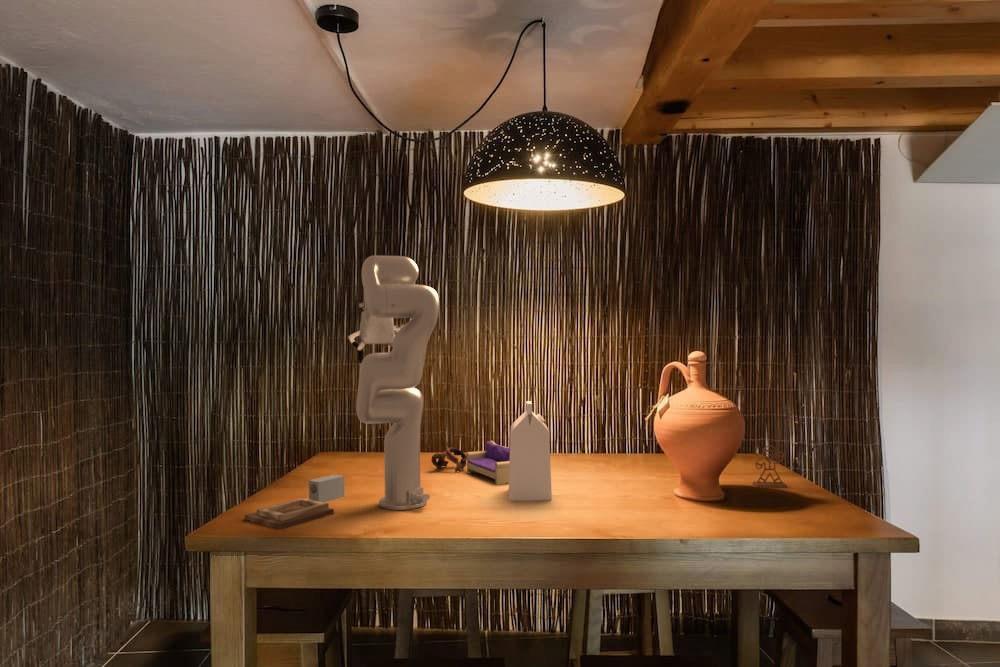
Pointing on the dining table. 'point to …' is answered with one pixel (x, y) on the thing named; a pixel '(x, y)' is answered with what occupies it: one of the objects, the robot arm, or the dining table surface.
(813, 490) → the dining table surface
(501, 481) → the toy sofa
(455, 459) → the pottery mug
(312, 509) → the jig
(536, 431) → the milk
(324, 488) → the grey rectangular block
